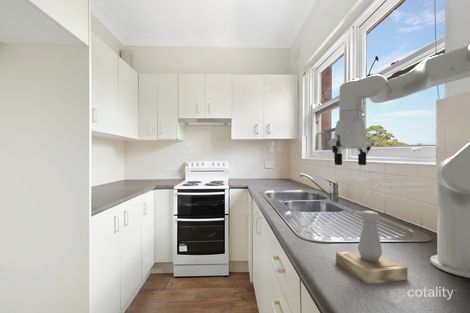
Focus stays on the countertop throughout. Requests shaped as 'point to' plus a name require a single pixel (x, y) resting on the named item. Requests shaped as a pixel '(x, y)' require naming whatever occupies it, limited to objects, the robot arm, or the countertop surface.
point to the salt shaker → (370, 237)
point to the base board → (371, 268)
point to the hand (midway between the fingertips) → (350, 164)
